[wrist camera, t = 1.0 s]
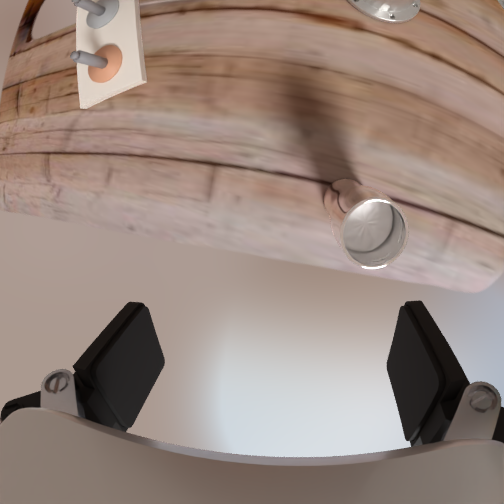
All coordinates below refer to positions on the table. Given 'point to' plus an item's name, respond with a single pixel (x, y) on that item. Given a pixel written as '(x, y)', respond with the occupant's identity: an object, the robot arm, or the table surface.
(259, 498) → the robot arm
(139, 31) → the pin board
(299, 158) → the table surface
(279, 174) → the table surface
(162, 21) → the table surface
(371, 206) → the beer glass
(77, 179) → the table surface
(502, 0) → the cake mix box
